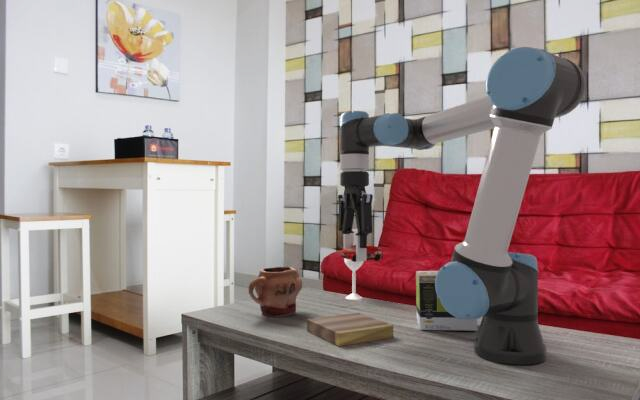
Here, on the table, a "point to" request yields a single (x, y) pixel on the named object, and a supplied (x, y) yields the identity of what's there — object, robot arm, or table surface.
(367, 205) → the robot arm
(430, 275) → the tea box
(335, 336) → the square wooden board
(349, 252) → the race car
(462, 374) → the table surface
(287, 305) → the terracotta clay mug
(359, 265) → the champagne flute
